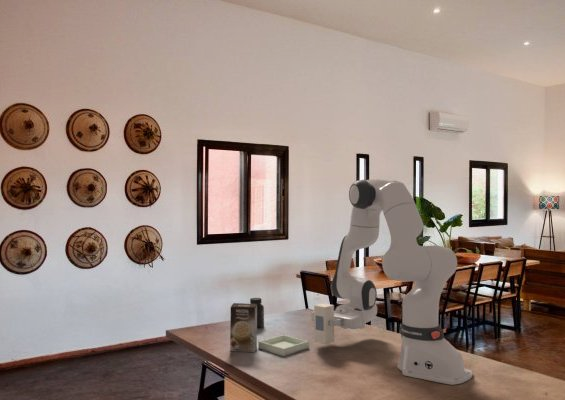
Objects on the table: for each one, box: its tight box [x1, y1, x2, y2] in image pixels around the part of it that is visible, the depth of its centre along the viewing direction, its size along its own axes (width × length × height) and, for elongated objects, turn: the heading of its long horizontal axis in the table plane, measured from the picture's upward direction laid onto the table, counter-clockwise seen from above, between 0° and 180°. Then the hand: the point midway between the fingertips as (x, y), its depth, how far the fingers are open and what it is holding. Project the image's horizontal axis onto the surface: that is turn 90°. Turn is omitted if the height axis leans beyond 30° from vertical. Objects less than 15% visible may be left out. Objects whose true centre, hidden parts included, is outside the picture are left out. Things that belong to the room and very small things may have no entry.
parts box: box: [313, 303, 335, 345], centre depth 175 cm, size 5×5×13 cm
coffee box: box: [229, 302, 258, 353], centre depth 176 cm, size 9×6×16 cm
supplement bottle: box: [249, 297, 265, 329], centre depth 208 cm, size 7×7×12 cm
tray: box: [257, 334, 310, 357], centre depth 177 cm, size 13×13×2 cm
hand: (322, 322), depth 174 cm, fingers closed on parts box, 5 cm apart
